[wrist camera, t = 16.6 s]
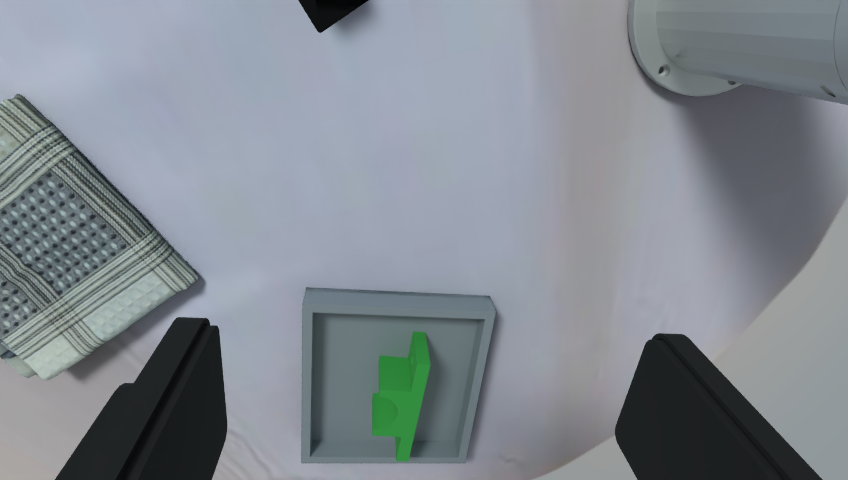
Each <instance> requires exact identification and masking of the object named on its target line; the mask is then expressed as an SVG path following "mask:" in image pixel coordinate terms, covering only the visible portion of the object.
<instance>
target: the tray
mask: <svg viewBox="0 0 848 480" xmlns="http://www.w3.org/2000/svg"><path fill="white" fill-rule="evenodd" d="M495 314H496V311H495V308H494V306H493V303H492V301H491V298H490V296H477V295H456V294H435V293H413V292H392V291H370V290H349V289H327V288H306V291H305V295H304V299H303V303H302V431H301V463H465V461H466V456H467V451H468V446H469V442H470V437H471V432H472V427H473V422H474V417H475V412H476V407H477V402H478V397H479V393H480V388H481V383H482V378H483V373H484V368H485V363H486V358H487V353H488V348H489V344H490V339H491V334H492V329H493V324H494V319H495ZM413 331H415V332H425V333H426V340H427V346H428V352H429V359H430V370H429V374H428V378H427V383H426V387H425V391H424V396H423V400H422V404H421V409H420V413H419V417H418V422H417V426H416V430H415V435H414V439H413V443H412V448H411V452H410V456H409V461H408V462H402V461H396V448H395V437H388V436H372V397H373V393H379V357H380V355H381V356H393V357H405V358H408V354H409V349H410V344H411V340H412V335H413Z"/></svg>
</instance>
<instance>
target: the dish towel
mask: <svg viewBox="0 0 848 480" xmlns="http://www.w3.org/2000/svg"><path fill="white" fill-rule="evenodd" d="M197 280H198V276H197V274H196V273H195V272H194V270H193V269H192V268H191V267H190V266H189V265H188V264H187V263H186V261H185V260H184V259H182V258H181V257H180V256H179V254H178V253H177V252H176V251H175V250H173V248H172V247H171V246H170V245H169V244H168V243H167V242H166V241H165V240H164V239H163V238H162V237H161V236H160V235H159V234H158V233H157V231H156V230H155V229H154V228H153V227H152V226H151V225H150V224H149V223H147V222H146V221H145V220H144V218H143V217H142V216H141V215H140V214H139V213H138V212H137V211H136V210H135V209H134V208H133V207H132V205H131V204H129V203H128V202H127V201H126V200H125V199H124V198H123V197H122V196H121V194H120V193H119V192H118V191H117V190H115V189H114V188H113V187H112V185H111V184H109V183H108V182H107V181H106V180H105V179H104V178H103V176H102V175H101V174H100V173H99V172H98V171H97V170H96V169H95V168H94V167H93V166H92V165H91V164H90V162H89V161H88V160H87V159H86V158H85V157H84V156H83V155H82V154H81V153H80V152H79V151H78V150H77V149H76V148H75V147H74V146H73V145H72V144H71V143H70V142H69V141H68V140H67V139H66V138H65V137H64V136H63V134H62V133H61V132H60V131H59V130H58V129H57V128H56V127H55V126H54V125H53V124H52V123H51V122H50V121H48V120H47V119H46V118H45V117H44V116H43V115H42V114H41V113H40V112H38V111H37V110H36V109H35V108H34V107H33V106H32V105H31V104H30V103H29V102H28V101H27V100H26V99H25V98H24V97H23V96H22V95H20V94H17V95H16V96H15V97H14V98H13V99H8V100H3V101H2V102H1V104H0V357H1V358H2V359H3V361H4V362H5V363H6V364H8V365H9V366H11V367H12V368H14V369H15V370H16V371H17V373H18V374H20V375H22V376H24V377H26V378H29V377H31V376H33V375H35V374H38V375H39V376H40V378H41V379H43V380H49V379H51V378H53V377H55V376H57V375H58V374H60V373H62V372H63V371H65V370H66V369H68V368H69V367H71V366H73V365H75V364H76V363H77V362H79V361H80V360H81V359H83V358H85V357H86V356H88V355H89V354H90V353H91V352H93V351H94V350H95V349H97V348H98V347H100V346H101V345H103V344H104V343H106V342H107V341H109V340H111V339H112V338H113V337H115V336H116V335H118V334H120V333H121V332H122V331H124V330H125V329H127V328H129V327H130V325H132V324H133V323H134V322H136V321H138V320H139V319H140V318H142V317H143V316H145V315H146V314H148V313H149V312H150V311H151V310H153V309H155V308H156V307H158V306H159V305H160V304H161V303H163V302H165V301H166V300H168V299H169V298H170V297H172V296H174V295H175V294H176V293H178V292H179V291H182V290H186V289H188V288H189V287H190V286H191V284H192V283H194V282H196V281H197Z"/></svg>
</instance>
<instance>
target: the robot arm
mask: <svg viewBox="0 0 848 480" xmlns="http://www.w3.org/2000/svg"><path fill="white" fill-rule="evenodd" d="M628 33H629V38H630V42H631V47H632V51H633V53H634V55H635V57H636V60H637V62H638V64H639V65H640V67H641V68H642V69H643V71H644V72H645V73H646V75H647V76H648V77H649V78H650V79H652V80H653V81H654V82H655V83H656V84H658V85H659V86H661V87H663V88H665V89H667V90H669V91H671V92H675V93H679V94H682V95H688V96H697V97H701V96H711V95H717V94H720V93H724V92H727V91H730V90H732V89H734V88H736V87H738V86H740V85H743V84H747V85H752V86H757V87H762V88H767V89H772V90H777V91H781V92H786V93H791V94H796V95H801V96H806V97H811V98H816V99H821V100H825V101H830V102H835V103H840V104H845V105H848V0H630V3H629V11H628ZM660 67H661V70H660V72H659V69H660ZM226 434H227V415H226V403H225V392H224V381H223V369H222V358H221V347H220V335H219V328H218V326H210V322H209V320H208V319H207V318H185V317H178V318H176V319H175V320H174V321H173V323H172V325H171V326H170V328H169V329H168V331H167V332H166V334H165V335H164V337H163V339H162V340H161V342H160V343H159V345H158V346H157V348H156V349H155V351H154V353H153V354H152V356H151V357H150V359H149V360H148V362H147V363H146V365H145V367H144V368H143V370H142V371H141V373H140V374H139V376H138V378H137V379H136V381H135V382H134V383H124V384H122V385H121V386H119V387H118V388H117V390H116V391H115V392H114V393H113V395H112V396H111V398H110V399H109V401H108V402H107V404H106V405H105V407H104V408H103V410H102V411H101V412H100V414H99V415H98V417H97V418H96V420H95V421H94V423H93V424H92V426H91V427H90V429H89V430H88V432H87V433H86V435H85V436H84V438H83V439H82V440H81V442H80V443H79V445H78V446H77V448H76V449H75V451H74V452H73V454H72V455H71V457H70V458H69V460H68V461H67V463H66V464H65V466H64V467H63V468H62V470H61V471H60V473H59V474H58V476H57V477H56V479H55V480H212V477H213V474H214V472H215V469H216V466H217V463H218V460H219V457H220V454H221V451H222V448H223V446H224V442H225V439H226ZM615 436H616V440H617V443H618V445H619V447H620V449H621V450H622V452H623V454H624V456H625V457H626V459H627V461H628V463H629V465H630V467H631V469H632V470H633V472H634V474H635V476H636V477H637V479H638V480H822V479H821V478H820V477H819V475H818V474H817V473H816V472H815V471H814V470H813V469H812V468H811V467H810V466H809V465H808V464H807V463H806V462H805V461H804V460H803V459H802V458H801V456H800V455H799V454H798V453H797V452H796V451H795V450H794V449H793V448H792V447H791V446H790V445H789V444H788V443H787V442H786V441H785V440H784V439H783V438H782V436H781V435H780V434H779V433H778V432H777V431H776V430H775V429H774V428H773V427H772V426H771V425H770V424H769V423H768V422H767V421H766V419H765V418H763V416H762V415H761V414H760V413H759V412H758V411H757V410H756V409H755V408H754V407H753V406H752V405H751V404H750V403H749V402H748V401H747V399H745V397H744V396H743V395H742V394H741V393H740V392H739V391H738V390H737V389H736V388H735V387H734V386H733V385H732V384H731V383H730V381H729V380H728V379H727V378H726V377H725V376H724V375H723V374H722V373H721V372H720V371H719V370H718V369H717V368H716V367H715V366H714V365H713V363H712V362H711V361H710V360H709V359H708V358H707V357H706V356H705V355H704V354H703V353H702V352H701V351H700V350H699V349H698V348H697V347H696V346H695V344H694V343H693V342H692V341H691V340H690V339H689V338H688V337H686V336H685V335H682V334H660V333H659V334H656V335H655V336H654V337H653V338H652V340H648V341H647V342H646V344H645V346H644V349H643V352H642V355H641V358H640V360H639V363H638V366H637V369H636V371H635V374H634V377H633V380H632V382H631V385H630V388H629V391H628V394H627V396H626V399H625V402H624V405H623V407H622V410H621V413H620V416H619V418H618V421H617V424H616V428H615Z"/></svg>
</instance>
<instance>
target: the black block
mask: <svg viewBox="0 0 848 480" xmlns="http://www.w3.org/2000/svg"><path fill="white" fill-rule="evenodd" d="M367 1H368V0H299V2H300V4H301V5H302V7H303V8H304V10H305V12H306V13H307V15H308V17H309V18H310V20H311V21H312V23H313V25H314V26H315V28H316V29H317V31H318V32H319V33H321V32H323V31H324V30H326V29H327V28H329V27H330V26H332V25H333V24H335V23H336V22H337V21H339V20H340V19H342V18H343V17H345V16H346V15H348V14H349V13H351V12H352V11H354V10H355V9H357V8H358V7H359V6H361V5H362V4H364V3H365V2H367Z"/></svg>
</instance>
